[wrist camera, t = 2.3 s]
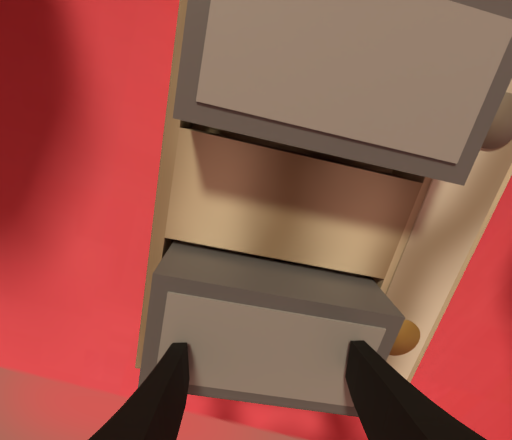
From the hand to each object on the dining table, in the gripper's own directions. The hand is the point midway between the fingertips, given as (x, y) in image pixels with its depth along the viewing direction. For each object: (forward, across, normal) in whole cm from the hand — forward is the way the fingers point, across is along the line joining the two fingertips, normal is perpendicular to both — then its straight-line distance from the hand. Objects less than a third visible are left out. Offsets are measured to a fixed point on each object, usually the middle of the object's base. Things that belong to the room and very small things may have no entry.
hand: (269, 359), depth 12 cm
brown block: (+4, 0, 0) cm, 4 cm away
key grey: (+4, -2, -12) cm, 13 cm away
